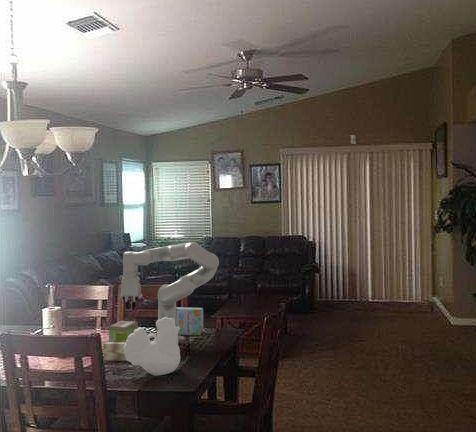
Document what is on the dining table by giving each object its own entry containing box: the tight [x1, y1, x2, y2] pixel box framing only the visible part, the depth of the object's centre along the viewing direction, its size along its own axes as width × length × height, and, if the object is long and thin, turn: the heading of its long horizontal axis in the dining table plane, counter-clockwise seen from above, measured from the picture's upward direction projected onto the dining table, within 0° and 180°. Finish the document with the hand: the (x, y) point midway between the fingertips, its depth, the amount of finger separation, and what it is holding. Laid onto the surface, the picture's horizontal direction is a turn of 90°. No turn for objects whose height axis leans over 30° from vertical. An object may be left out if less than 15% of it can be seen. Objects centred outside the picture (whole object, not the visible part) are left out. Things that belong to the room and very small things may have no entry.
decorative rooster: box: [123, 317, 181, 377], centre depth 256 cm, size 25×16×25 cm, turn 99°
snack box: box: [176, 306, 204, 336], centre depth 334 cm, size 21×6×15 cm, turn 77°
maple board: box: [102, 341, 127, 361], centre depth 280 cm, size 12×3×8 cm, turn 87°
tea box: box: [108, 320, 139, 342], centre depth 294 cm, size 15×10×15 cm, turn 168°
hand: (130, 308), depth 309 cm, fingers closed
